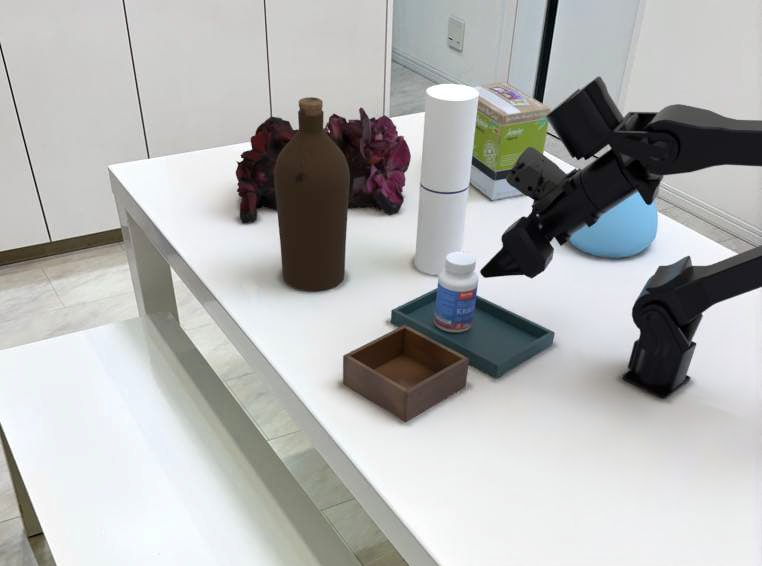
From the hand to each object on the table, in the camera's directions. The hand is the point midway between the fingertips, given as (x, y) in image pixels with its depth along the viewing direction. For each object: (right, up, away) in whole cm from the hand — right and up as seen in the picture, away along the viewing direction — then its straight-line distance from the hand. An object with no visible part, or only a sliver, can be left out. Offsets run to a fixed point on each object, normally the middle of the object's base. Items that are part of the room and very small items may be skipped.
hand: (494, 259), depth 112 cm
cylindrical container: (-5, +6, +23) cm, 24 cm away
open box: (-12, -17, -2) cm, 21 cm away
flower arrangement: (-24, +23, +39) cm, 52 cm away
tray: (-2, -8, +8) cm, 11 cm away
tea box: (+7, +29, +47) cm, 56 cm away
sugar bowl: (+23, +13, +30) cm, 40 cm away
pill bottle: (-4, -6, +9) cm, 12 cm away
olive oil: (-24, +3, +19) cm, 31 cm away
